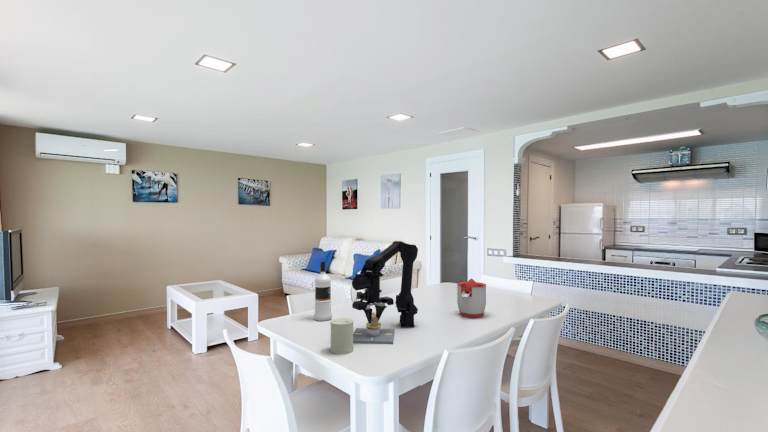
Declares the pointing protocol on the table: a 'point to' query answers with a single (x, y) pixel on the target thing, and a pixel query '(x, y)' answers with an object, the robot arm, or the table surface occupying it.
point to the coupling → (373, 323)
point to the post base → (373, 336)
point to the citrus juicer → (471, 298)
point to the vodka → (322, 295)
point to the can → (341, 336)
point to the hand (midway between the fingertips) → (373, 322)
